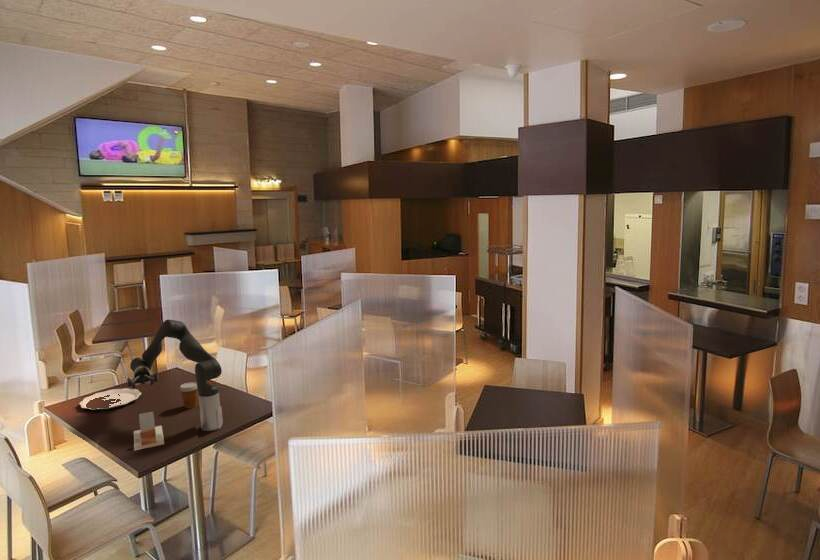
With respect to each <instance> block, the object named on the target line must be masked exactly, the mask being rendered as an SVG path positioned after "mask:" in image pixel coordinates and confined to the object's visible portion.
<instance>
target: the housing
mask: <svg viewBox="0 0 820 560" xmlns="http://www.w3.org/2000/svg"><path fill="white" fill-rule="evenodd" d="M140 431H141V430H140V429H138V430H133V451H138V450H139V451H140V450H142V449H147V448H152V447H153V448H154V447H156V446H162V445H165V439H164V433H163V426H162V425H157V426H156V425H155V432H156V443H151V444H147V445H142V444H141V435H140Z"/></svg>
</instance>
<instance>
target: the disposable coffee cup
mask: <svg viewBox="0 0 820 560" xmlns="http://www.w3.org/2000/svg"><path fill="white" fill-rule="evenodd" d="M179 390H180V392H181V397H182V400H183V405H184V408H185V409H193V407H194V408H196V407H197V406H198V404H199V398H198V389H197V382H195V381H190V382H189V381H188V382H185V383H182V384H181V385H180V387H179Z"/></svg>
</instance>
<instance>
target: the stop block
mask: <svg viewBox="0 0 820 560" xmlns="http://www.w3.org/2000/svg"><path fill="white" fill-rule="evenodd" d="M140 435H141V444H142V445H147V444H151V443H156V432H155V428H153V429H148V430H143V431H140Z"/></svg>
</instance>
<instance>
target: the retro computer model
mask: <svg viewBox="0 0 820 560" xmlns="http://www.w3.org/2000/svg"><path fill="white" fill-rule="evenodd" d="M154 414H155V413H154V411H149V412H143V413H139V414H138V419H139V430H141V431H143V430H148V429H153V428H155V427H156V425H155V415H154Z"/></svg>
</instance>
